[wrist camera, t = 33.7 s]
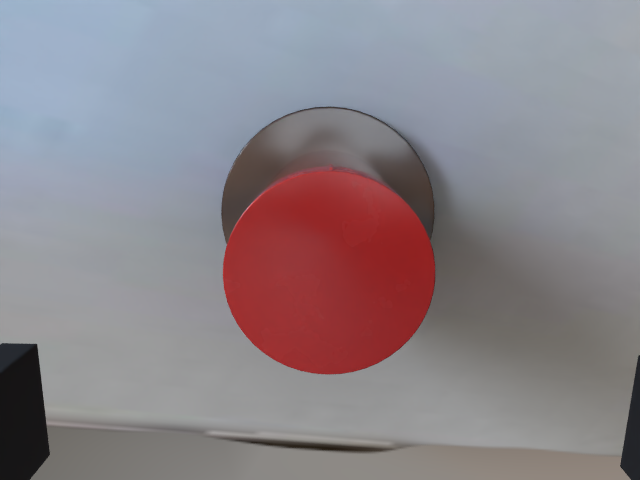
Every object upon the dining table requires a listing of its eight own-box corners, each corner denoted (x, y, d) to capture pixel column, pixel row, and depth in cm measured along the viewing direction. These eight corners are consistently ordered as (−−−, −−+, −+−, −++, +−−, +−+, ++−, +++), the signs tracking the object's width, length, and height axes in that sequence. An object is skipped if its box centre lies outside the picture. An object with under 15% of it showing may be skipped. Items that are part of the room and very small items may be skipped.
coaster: (425, 314, 35) (427, 318, 34) (226, 310, 35) (224, 315, 34) (439, 108, 32) (441, 108, 31) (220, 105, 32) (218, 105, 31)
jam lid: (229, 162, 21) (219, 166, 20) (432, 165, 21) (443, 170, 20) (233, 352, 23) (225, 373, 22) (420, 355, 23) (428, 376, 21)
